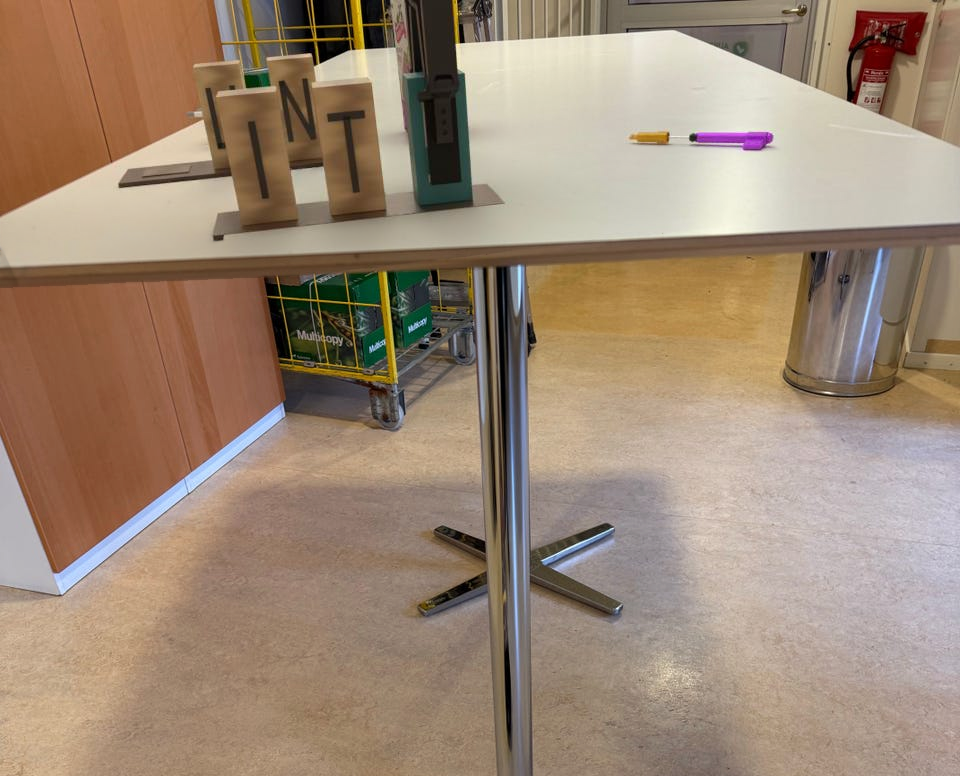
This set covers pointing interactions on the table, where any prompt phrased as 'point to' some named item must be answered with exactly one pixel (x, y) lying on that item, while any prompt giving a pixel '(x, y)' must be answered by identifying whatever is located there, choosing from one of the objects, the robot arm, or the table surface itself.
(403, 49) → the candy bar box
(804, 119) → the table surface
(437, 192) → the teal rectangular slab
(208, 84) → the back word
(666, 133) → the marker pen
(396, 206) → the front word
